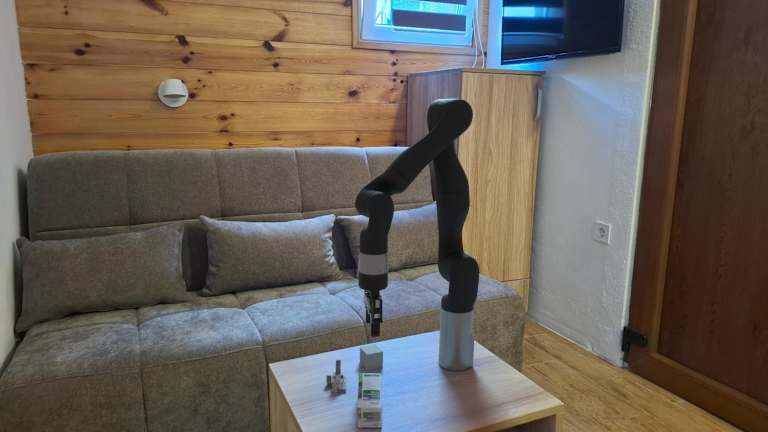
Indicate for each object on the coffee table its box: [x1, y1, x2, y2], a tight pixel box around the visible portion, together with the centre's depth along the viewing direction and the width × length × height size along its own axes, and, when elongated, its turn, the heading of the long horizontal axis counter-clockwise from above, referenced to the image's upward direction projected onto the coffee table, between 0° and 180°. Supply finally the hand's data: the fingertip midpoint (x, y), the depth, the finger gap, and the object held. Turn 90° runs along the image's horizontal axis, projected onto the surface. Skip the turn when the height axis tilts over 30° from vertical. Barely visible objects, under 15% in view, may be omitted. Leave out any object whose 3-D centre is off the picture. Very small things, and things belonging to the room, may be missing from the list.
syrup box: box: [356, 372, 383, 429], centre depth 130 cm, size 6×6×14 cm
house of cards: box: [325, 359, 347, 393], centre depth 142 cm, size 9×9×8 cm
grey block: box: [359, 344, 384, 371], centre depth 153 cm, size 5×5×5 cm
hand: (372, 329), depth 138 cm, fingers open, 8 cm apart
